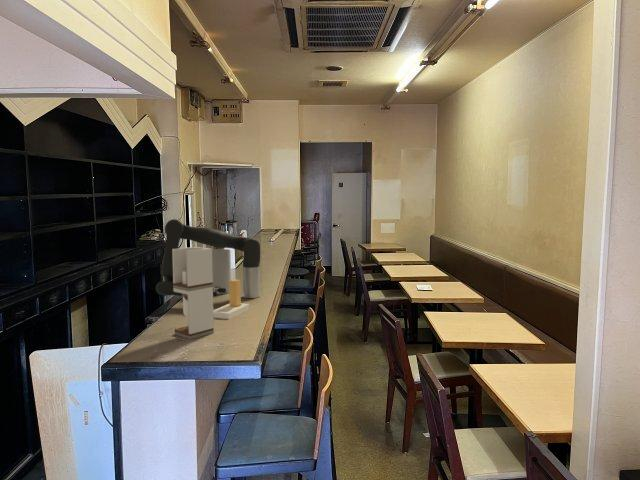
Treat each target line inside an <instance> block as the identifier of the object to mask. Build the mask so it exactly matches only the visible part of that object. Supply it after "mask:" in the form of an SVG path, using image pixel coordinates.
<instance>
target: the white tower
mask: <svg viewBox="0 0 640 480" xmlns="http://www.w3.org/2000/svg"><path fill="white" fill-rule="evenodd" d="M212 250H213V248H210V247H200V246H191V247H189V246H188V247H182V248H181V247H180V248H179V247H178V249H172V256H173V291H174V292H178V293H183V296H182V308H183V310H182V312H183V315H184V316H185V317H186V318H187V319H188V320H187V322H188V323H187V324H188V326H187V325H186V326H183V327H179V328H175V329H174V335H176V336H179V337H182V338H185V339H187V340H188V339H189V340H193V339H196V338H201V337H203V336H206V335H210V334H214V333H215V332H214V331H215V330H214V328H215V327H214V326H215V325H214V318H213V310H214V296H213V273H212Z"/></svg>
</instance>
